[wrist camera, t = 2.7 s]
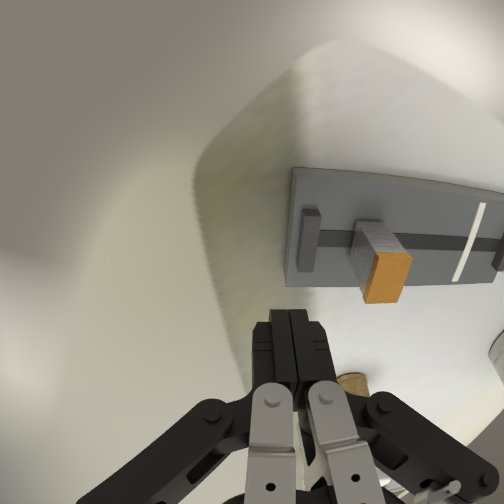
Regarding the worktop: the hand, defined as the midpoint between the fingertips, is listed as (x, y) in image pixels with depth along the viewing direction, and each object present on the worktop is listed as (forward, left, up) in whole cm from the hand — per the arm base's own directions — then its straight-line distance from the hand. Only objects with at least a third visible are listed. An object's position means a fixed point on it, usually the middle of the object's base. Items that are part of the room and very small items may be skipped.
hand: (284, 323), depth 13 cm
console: (-11, 0, -10) cm, 15 cm away
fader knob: (-6, 0, -8) cm, 10 cm away
